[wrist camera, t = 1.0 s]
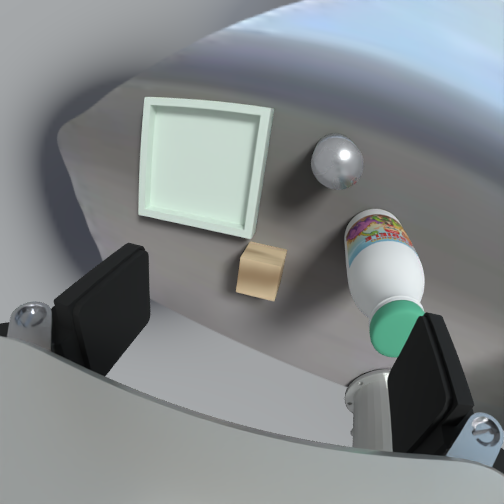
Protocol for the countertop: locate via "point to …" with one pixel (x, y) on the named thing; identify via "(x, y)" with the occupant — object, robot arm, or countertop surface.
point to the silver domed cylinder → (337, 162)
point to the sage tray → (203, 163)
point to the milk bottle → (384, 278)
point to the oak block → (261, 271)
